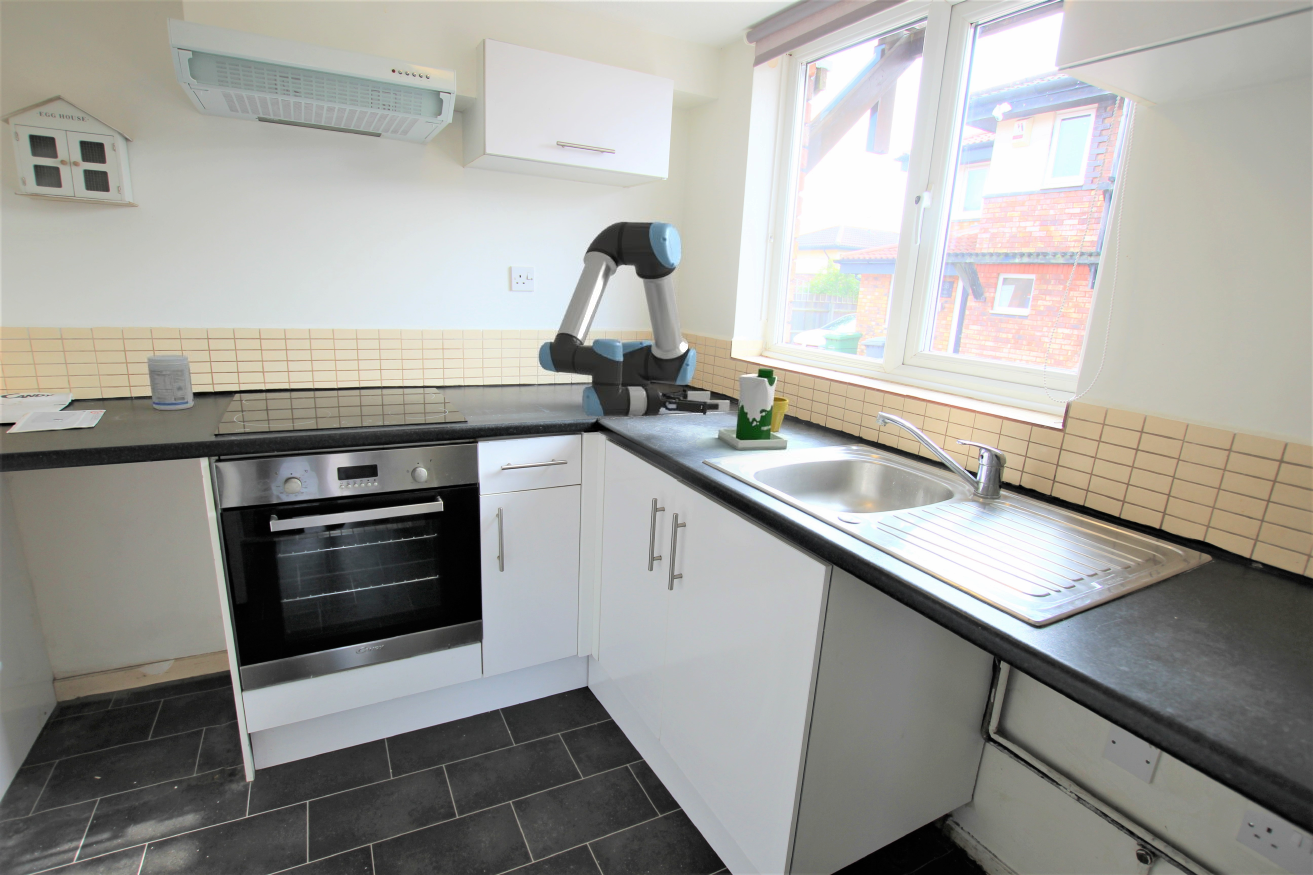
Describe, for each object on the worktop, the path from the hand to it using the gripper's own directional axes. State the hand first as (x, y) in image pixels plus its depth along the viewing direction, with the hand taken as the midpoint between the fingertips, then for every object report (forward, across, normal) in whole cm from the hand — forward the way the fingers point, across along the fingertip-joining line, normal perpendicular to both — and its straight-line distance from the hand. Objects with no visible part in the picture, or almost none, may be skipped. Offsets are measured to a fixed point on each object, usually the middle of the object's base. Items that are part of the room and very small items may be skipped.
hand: (719, 401), depth 175 cm
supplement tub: (-145, -57, -12) cm, 156 cm away
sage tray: (+11, 0, -12) cm, 16 cm away
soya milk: (+11, 0, -11) cm, 16 cm away
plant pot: (+24, -15, -12) cm, 31 cm away
